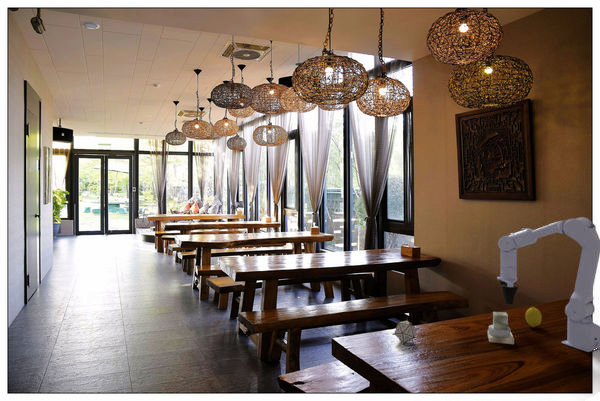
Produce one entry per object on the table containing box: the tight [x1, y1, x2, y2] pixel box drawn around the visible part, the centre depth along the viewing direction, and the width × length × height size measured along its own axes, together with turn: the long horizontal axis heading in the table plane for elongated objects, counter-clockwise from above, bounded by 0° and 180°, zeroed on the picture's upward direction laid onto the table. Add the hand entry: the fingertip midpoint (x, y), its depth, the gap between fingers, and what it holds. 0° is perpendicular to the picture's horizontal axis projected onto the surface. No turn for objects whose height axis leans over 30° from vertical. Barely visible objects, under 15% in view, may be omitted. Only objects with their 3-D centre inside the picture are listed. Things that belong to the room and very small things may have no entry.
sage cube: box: [492, 311, 509, 330], centre depth 161 cm, size 4×4×5 cm
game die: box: [391, 318, 419, 346], centre depth 159 cm, size 9×8×10 cm
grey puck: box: [488, 324, 511, 338], centre depth 161 cm, size 7×7×2 cm
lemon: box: [525, 306, 542, 328], centre depth 173 cm, size 6×6×8 cm
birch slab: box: [487, 329, 515, 345], centre depth 161 cm, size 8×8×2 cm
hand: (508, 301), depth 173 cm, fingers open, 7 cm apart
